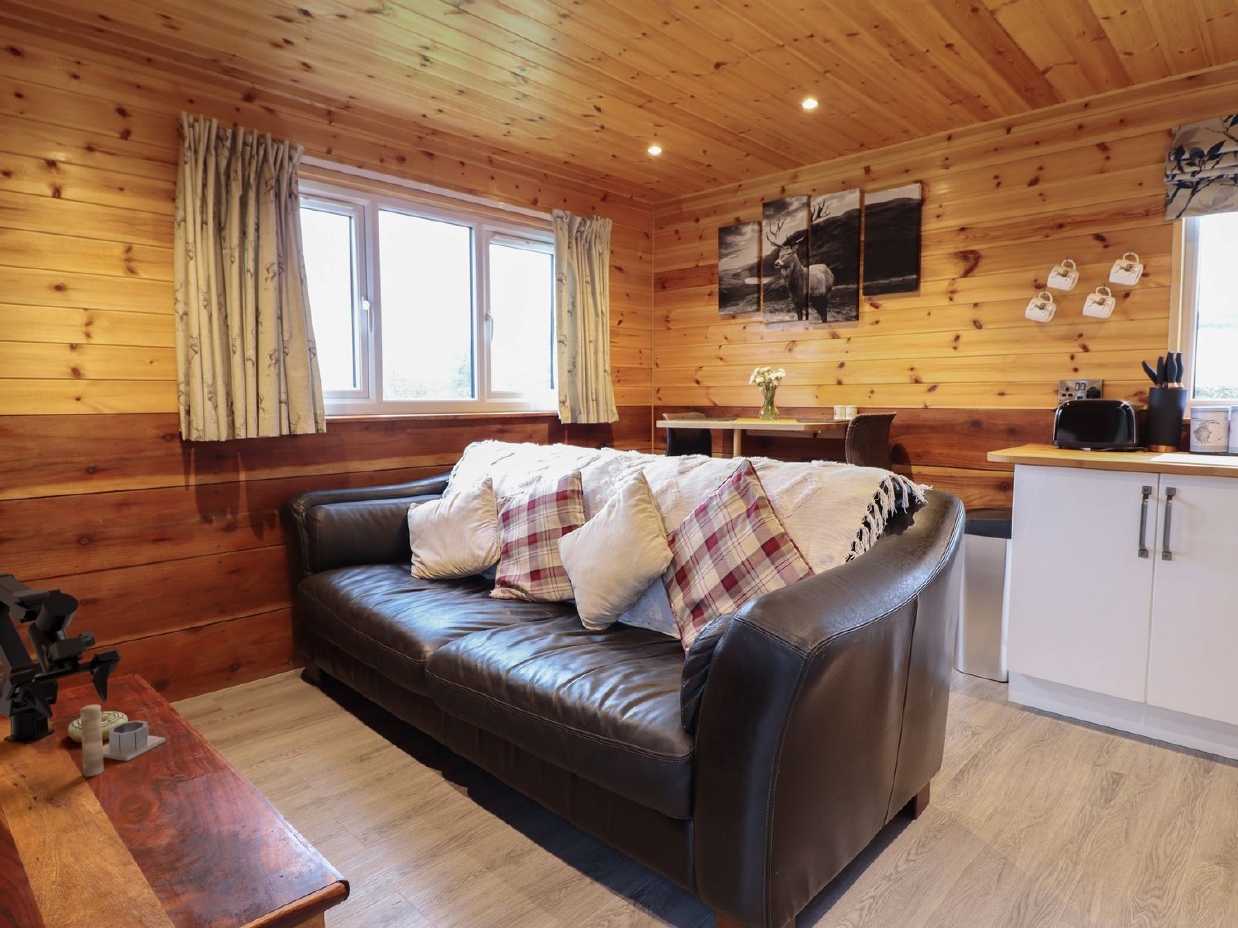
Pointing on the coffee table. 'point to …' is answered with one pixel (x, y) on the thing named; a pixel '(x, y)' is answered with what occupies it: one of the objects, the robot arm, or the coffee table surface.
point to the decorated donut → (108, 722)
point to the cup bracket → (130, 740)
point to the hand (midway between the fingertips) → (79, 708)
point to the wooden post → (92, 740)
